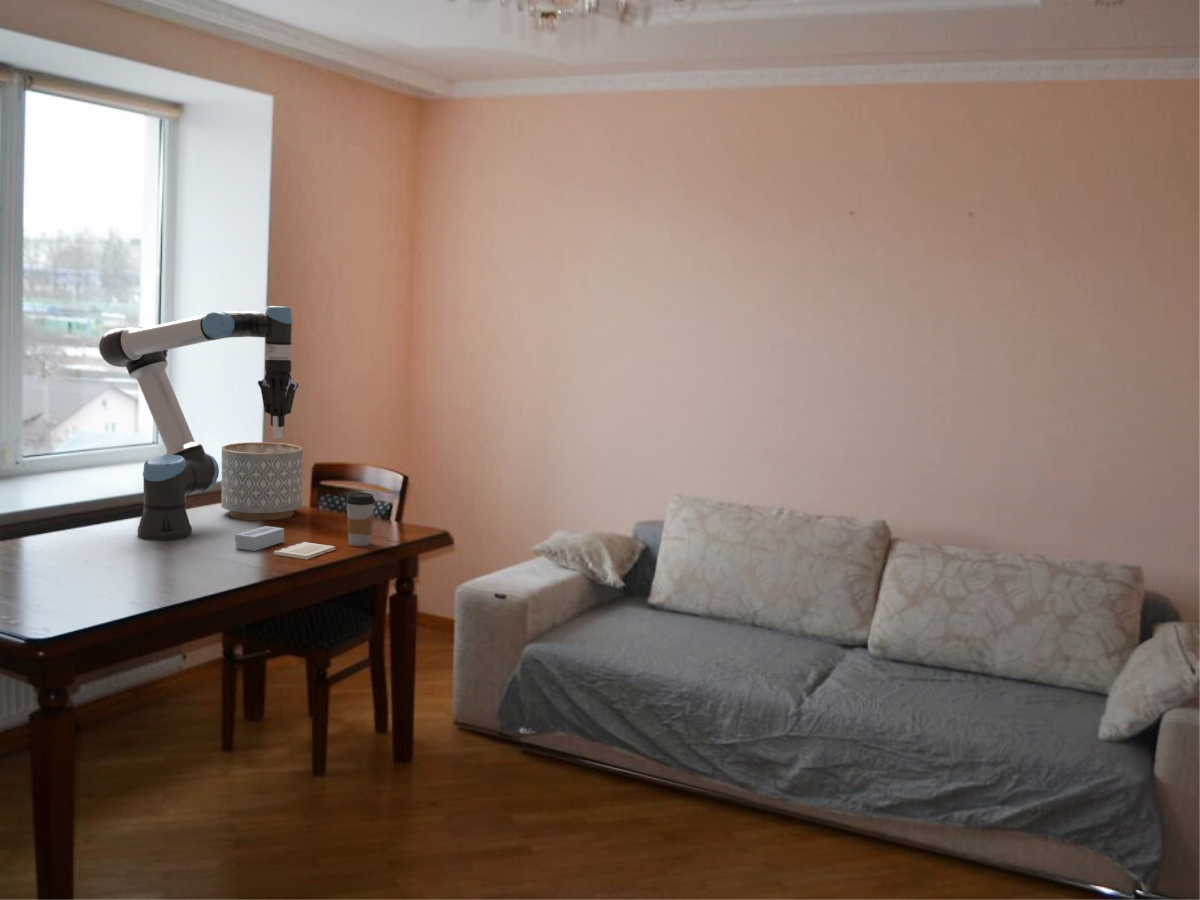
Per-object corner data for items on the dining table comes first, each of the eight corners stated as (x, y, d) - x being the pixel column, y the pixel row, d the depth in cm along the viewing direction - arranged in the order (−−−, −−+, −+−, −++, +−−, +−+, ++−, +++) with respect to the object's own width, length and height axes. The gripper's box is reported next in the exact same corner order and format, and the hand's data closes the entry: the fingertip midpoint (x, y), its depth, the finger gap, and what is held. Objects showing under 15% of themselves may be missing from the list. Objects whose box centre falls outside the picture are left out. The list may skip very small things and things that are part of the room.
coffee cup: (367, 548, 336) (368, 498, 334) (340, 545, 338) (341, 496, 336) (378, 542, 344) (379, 493, 342) (352, 540, 346) (353, 491, 344)
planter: (317, 513, 383) (318, 447, 380) (266, 525, 360) (267, 456, 357) (257, 503, 393) (258, 440, 390) (204, 515, 370) (204, 447, 367)
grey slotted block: (235, 548, 327) (235, 534, 327) (265, 539, 340) (266, 525, 340) (254, 550, 325) (254, 536, 325) (283, 541, 338) (284, 528, 338)
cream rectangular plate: (273, 554, 323) (273, 550, 323) (303, 545, 336) (303, 541, 336) (306, 559, 319) (306, 555, 319) (335, 549, 332) (335, 546, 332)
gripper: (251, 357, 336) (251, 436, 340) (289, 360, 332) (288, 440, 335) (267, 356, 343) (267, 434, 347) (304, 359, 339) (303, 438, 342)
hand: (277, 437), depth 341 cm, fingers closed
